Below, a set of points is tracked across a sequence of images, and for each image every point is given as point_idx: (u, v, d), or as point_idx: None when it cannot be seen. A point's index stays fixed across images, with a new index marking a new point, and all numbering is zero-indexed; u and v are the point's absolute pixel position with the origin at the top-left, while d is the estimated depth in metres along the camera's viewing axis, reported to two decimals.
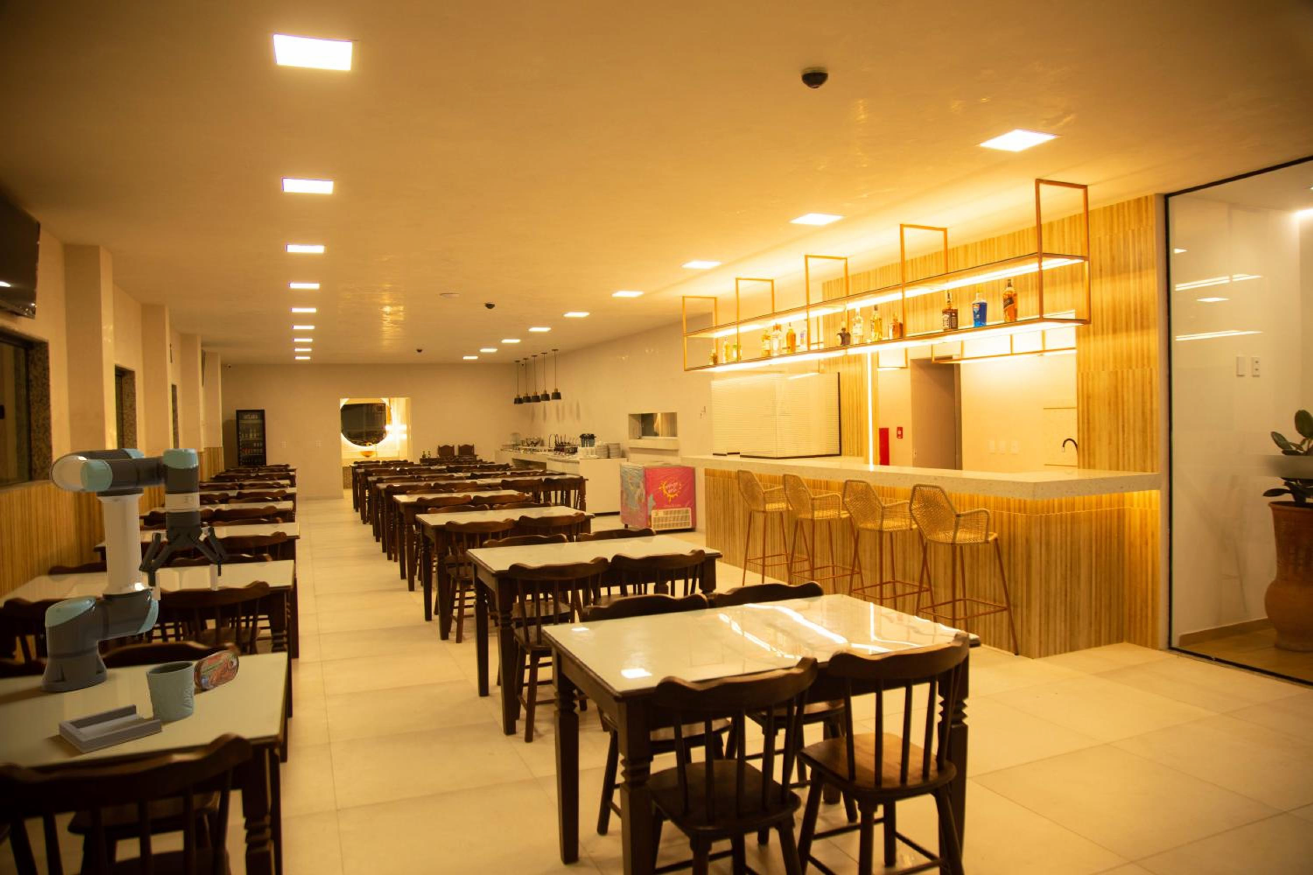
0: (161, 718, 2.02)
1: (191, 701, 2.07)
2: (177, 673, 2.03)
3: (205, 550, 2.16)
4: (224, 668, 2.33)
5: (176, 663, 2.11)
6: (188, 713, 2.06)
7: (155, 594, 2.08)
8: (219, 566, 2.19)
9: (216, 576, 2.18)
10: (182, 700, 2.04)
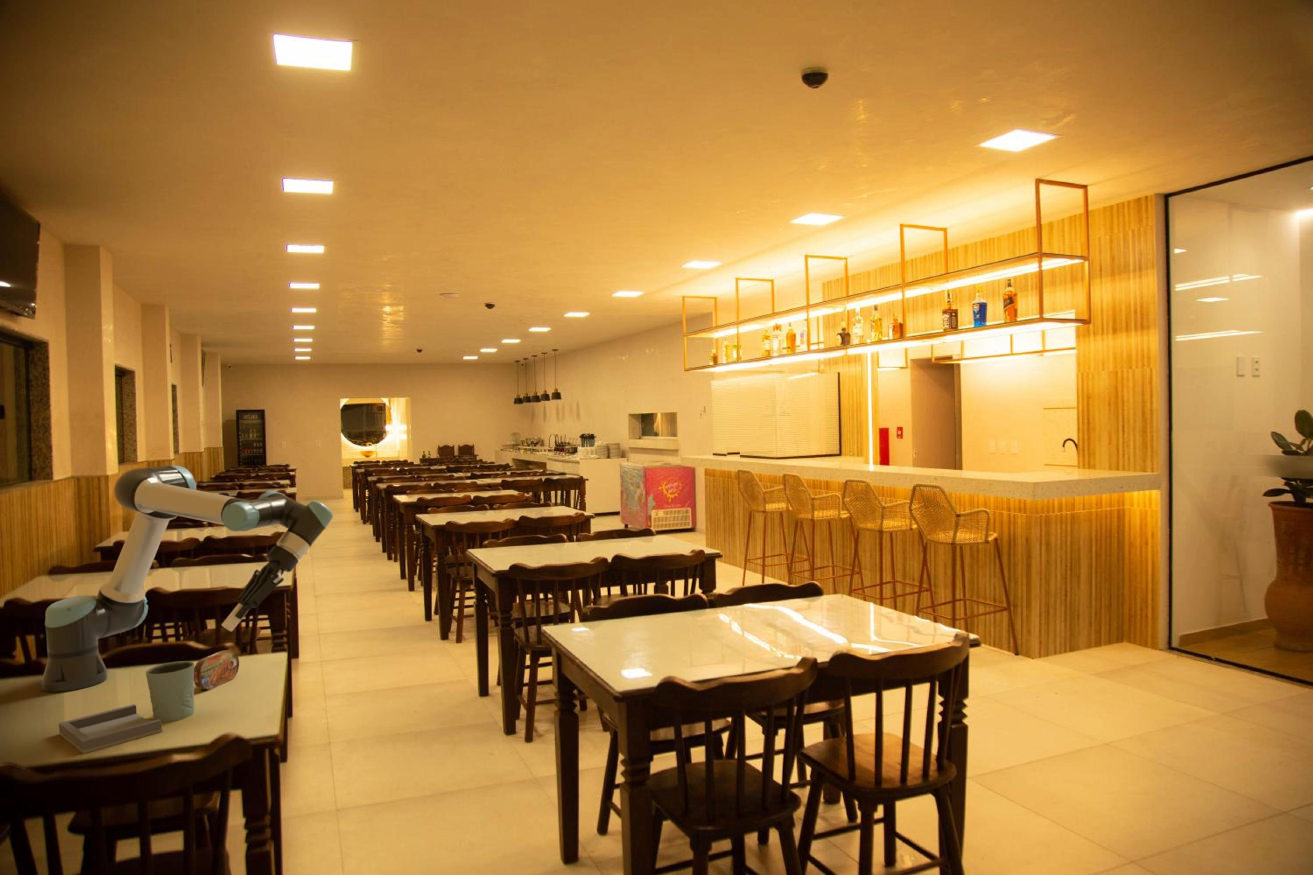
0: (161, 718, 2.02)
1: (191, 701, 2.07)
2: (178, 673, 2.03)
3: None
4: (224, 668, 2.33)
5: (176, 663, 2.11)
6: (188, 713, 2.06)
7: (232, 625, 2.16)
8: None
9: None
10: (182, 700, 2.04)
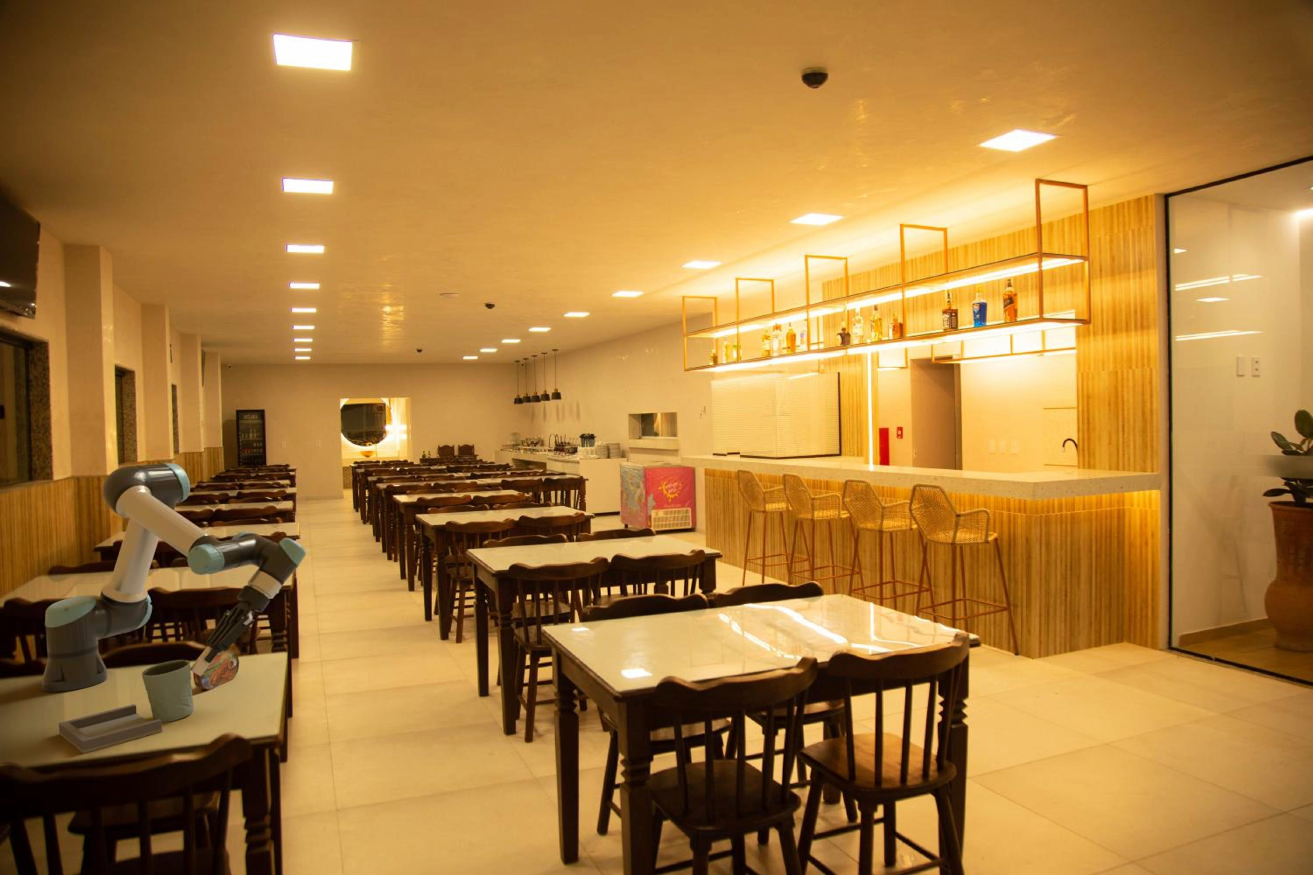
0: (160, 718, 2.02)
1: (189, 699, 2.06)
2: (173, 673, 2.02)
3: None
4: (224, 668, 2.33)
5: (172, 662, 2.10)
6: (187, 712, 2.05)
7: (201, 669, 2.10)
8: None
9: None
10: (180, 699, 2.04)
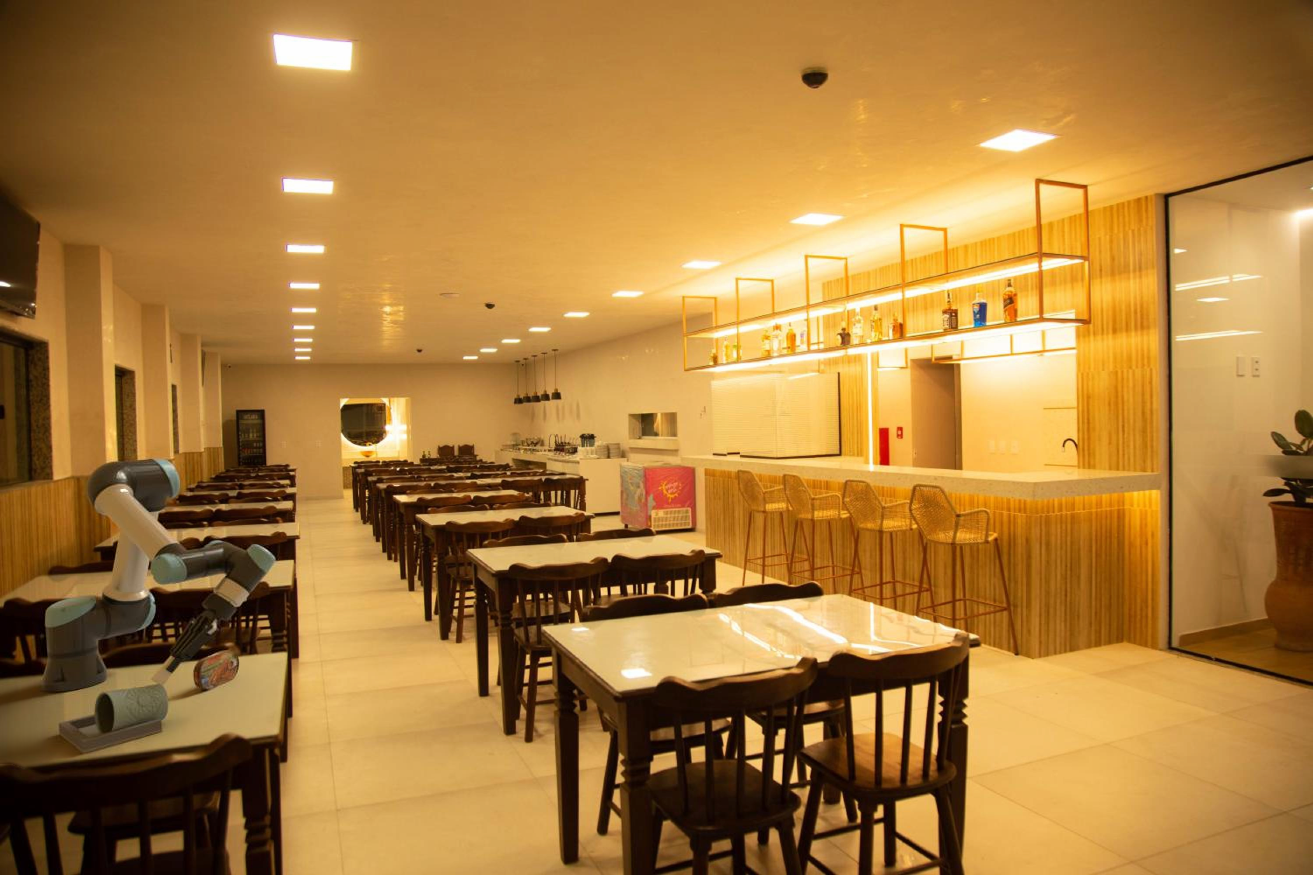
0: None
1: (154, 703, 1.97)
2: (115, 728, 1.90)
3: None
4: (224, 668, 2.33)
5: (102, 694, 1.94)
6: (165, 706, 1.99)
7: (162, 679, 2.04)
8: None
9: None
10: (148, 716, 1.96)
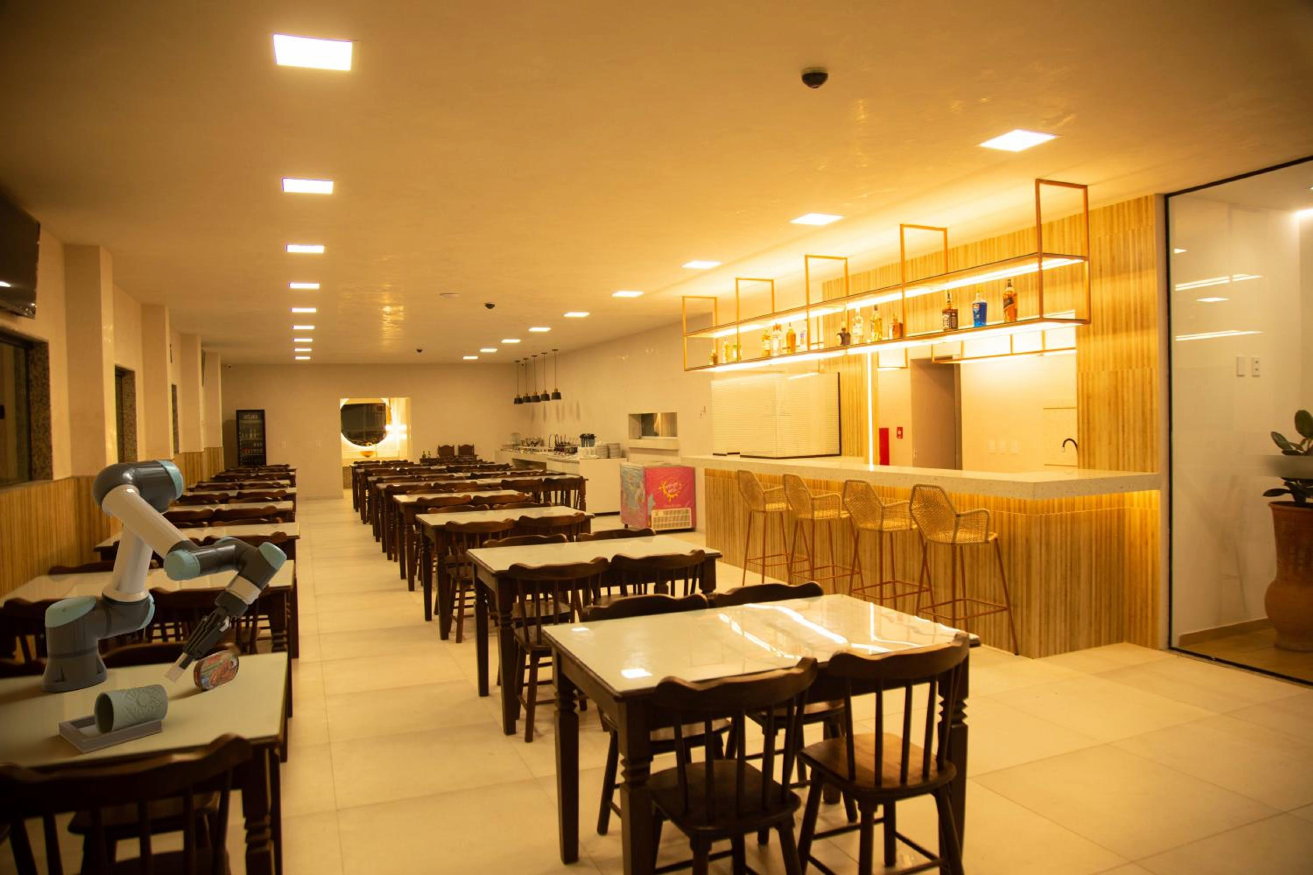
0: None
1: (153, 703, 1.97)
2: (115, 728, 1.90)
3: None
4: (224, 668, 2.33)
5: (102, 694, 1.94)
6: (164, 706, 1.99)
7: (176, 675, 2.06)
8: None
9: None
10: (147, 716, 1.96)
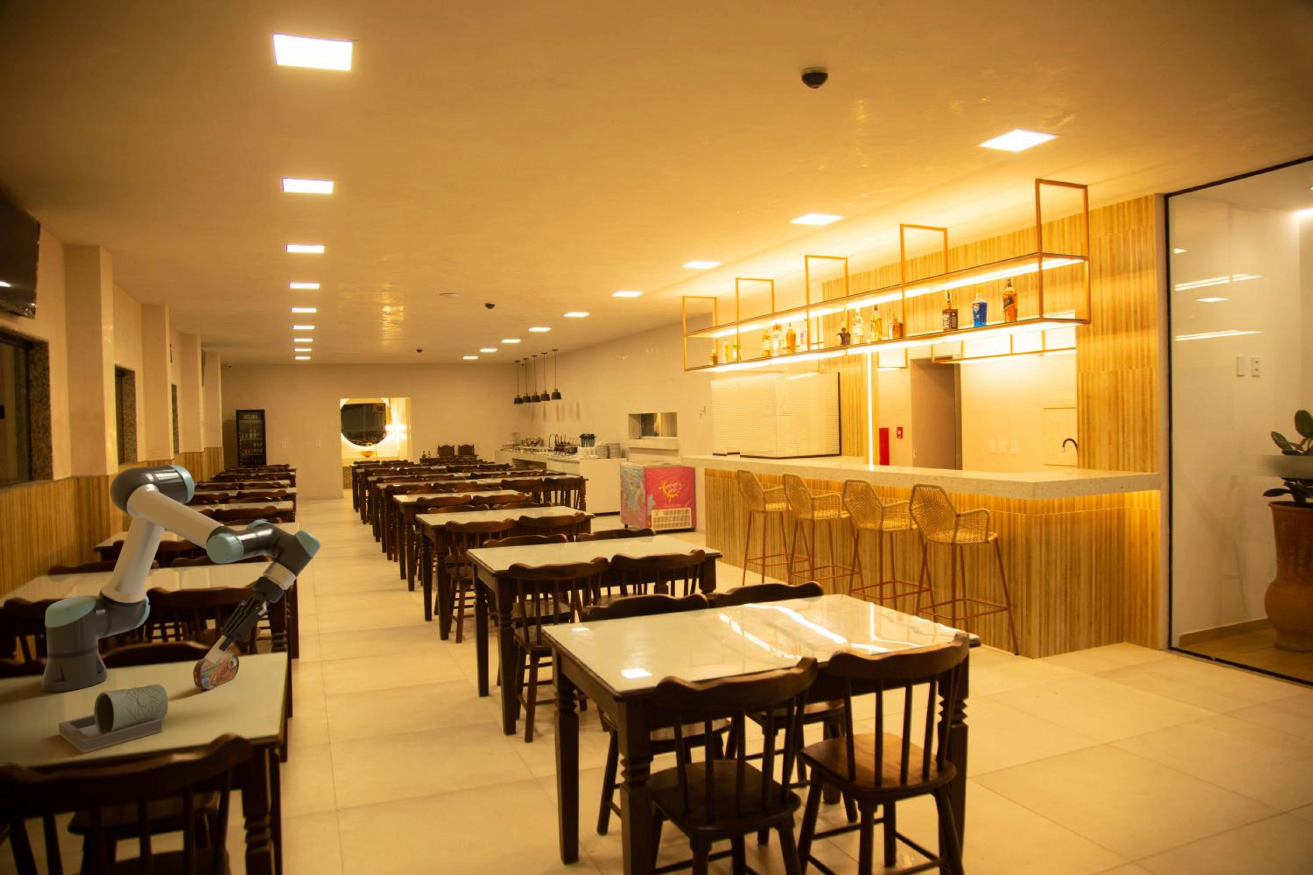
0: None
1: (153, 703, 1.97)
2: (115, 728, 1.90)
3: None
4: (224, 668, 2.33)
5: (102, 694, 1.94)
6: (164, 706, 1.99)
7: (215, 657, 2.14)
8: None
9: None
10: (147, 716, 1.96)
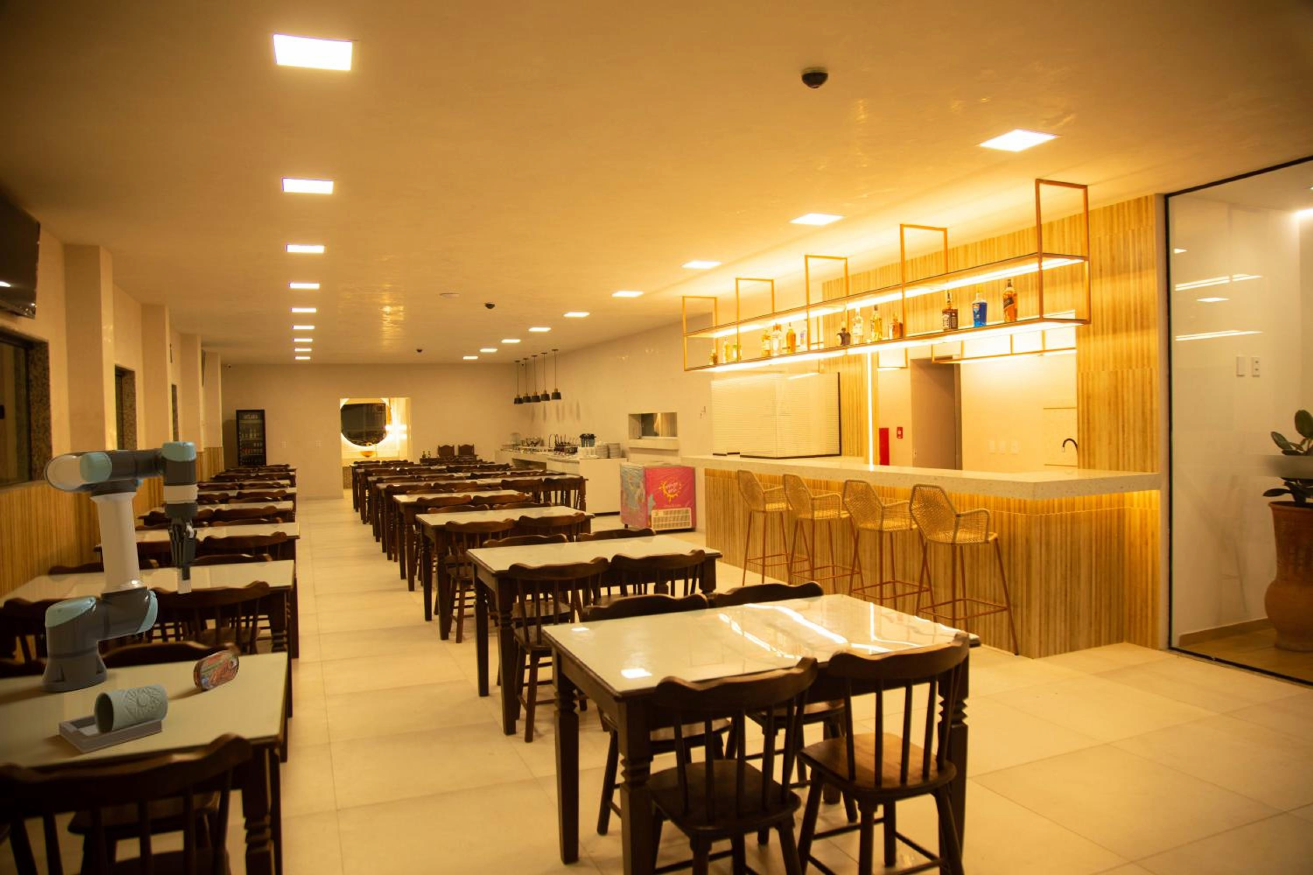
0: None
1: (153, 703, 1.97)
2: (115, 728, 1.90)
3: None
4: (224, 668, 2.33)
5: (102, 694, 1.94)
6: (164, 706, 1.99)
7: (187, 587, 2.19)
8: None
9: None
10: (147, 716, 1.96)
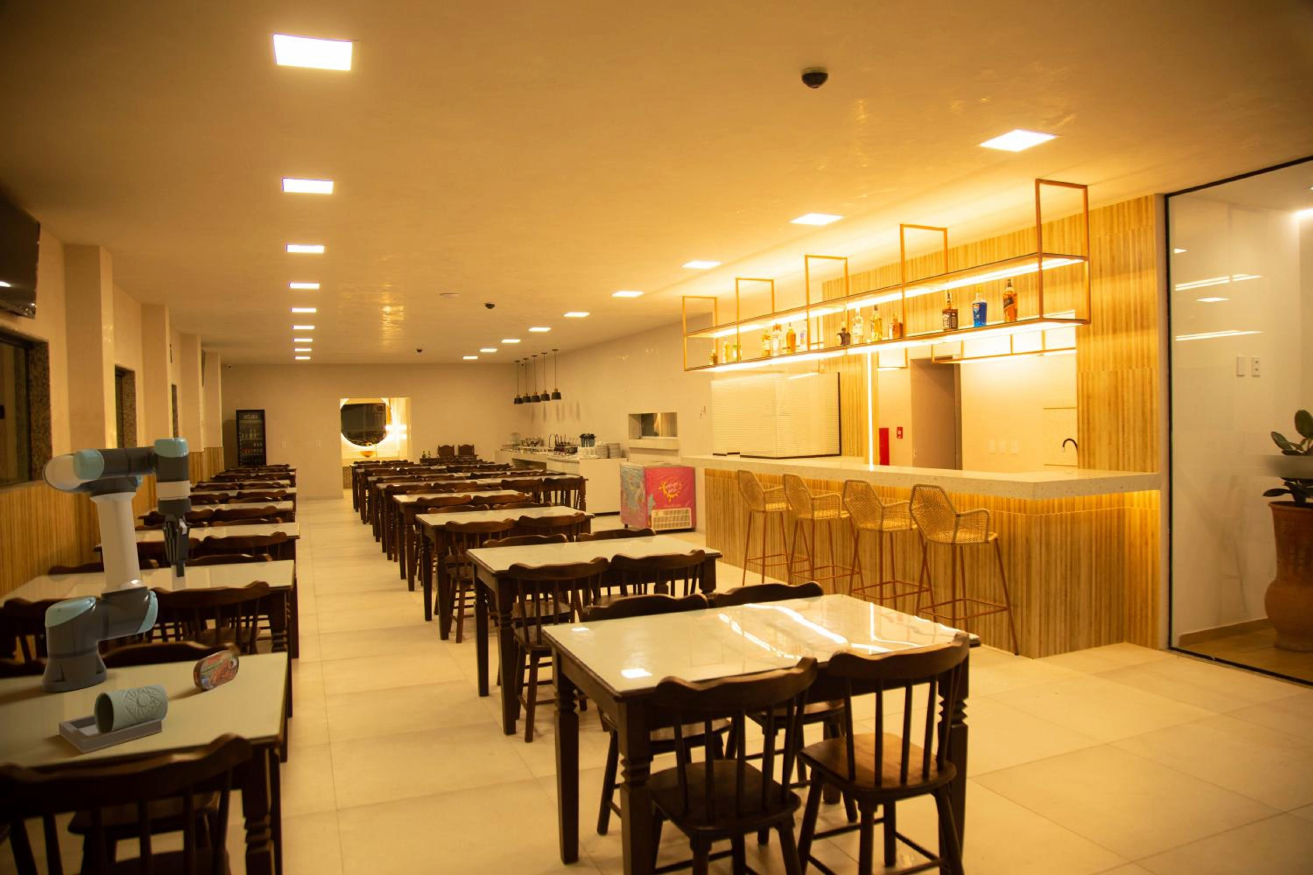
0: None
1: (153, 703, 1.97)
2: (115, 728, 1.90)
3: None
4: (224, 668, 2.33)
5: (102, 694, 1.94)
6: (164, 706, 1.99)
7: (181, 584, 2.19)
8: None
9: None
10: (147, 716, 1.96)
